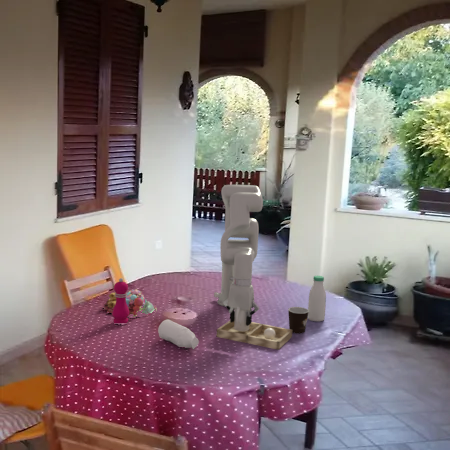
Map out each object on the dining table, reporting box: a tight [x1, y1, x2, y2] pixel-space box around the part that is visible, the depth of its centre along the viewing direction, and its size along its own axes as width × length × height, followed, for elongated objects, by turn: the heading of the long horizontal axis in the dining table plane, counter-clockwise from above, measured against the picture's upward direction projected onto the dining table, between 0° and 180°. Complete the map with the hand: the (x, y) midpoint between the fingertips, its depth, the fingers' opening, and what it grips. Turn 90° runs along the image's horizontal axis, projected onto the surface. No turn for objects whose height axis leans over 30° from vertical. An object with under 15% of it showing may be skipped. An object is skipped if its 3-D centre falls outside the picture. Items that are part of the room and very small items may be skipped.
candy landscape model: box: [102, 289, 157, 317], centre depth 273 cm, size 25×24×9 cm
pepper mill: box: [111, 277, 129, 324], centre depth 253 cm, size 7×7×20 cm
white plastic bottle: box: [157, 319, 200, 350], centre depth 232 cm, size 8×19×8 cm, turn 42°
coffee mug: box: [287, 306, 309, 335], centre depth 251 cm, size 12×9×10 cm
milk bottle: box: [307, 275, 327, 322], centre depth 267 cm, size 8×8×20 cm
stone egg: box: [264, 328, 276, 340], centre depth 239 cm, size 5×5×5 cm
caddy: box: [216, 320, 293, 351], centre depth 242 cm, size 27×16×4 cm, turn 65°
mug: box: [234, 307, 249, 331], centre depth 244 cm, size 10×7×12 cm, turn 158°
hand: (240, 322), depth 244 cm, fingers closed on mug, 6 cm apart
